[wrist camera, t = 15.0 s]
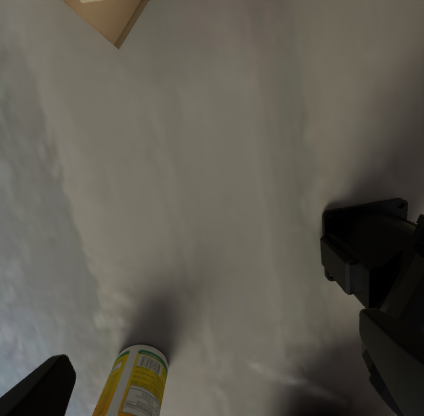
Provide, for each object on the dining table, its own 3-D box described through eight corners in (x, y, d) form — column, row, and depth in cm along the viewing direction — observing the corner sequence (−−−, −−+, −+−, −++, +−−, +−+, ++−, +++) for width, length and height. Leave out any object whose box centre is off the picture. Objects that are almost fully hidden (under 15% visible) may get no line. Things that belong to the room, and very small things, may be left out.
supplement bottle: (164, 340, 24) (135, 470, 15) (172, 379, 26) (151, 518, 16) (110, 345, 24) (49, 476, 15) (122, 383, 26) (73, 523, 17)
